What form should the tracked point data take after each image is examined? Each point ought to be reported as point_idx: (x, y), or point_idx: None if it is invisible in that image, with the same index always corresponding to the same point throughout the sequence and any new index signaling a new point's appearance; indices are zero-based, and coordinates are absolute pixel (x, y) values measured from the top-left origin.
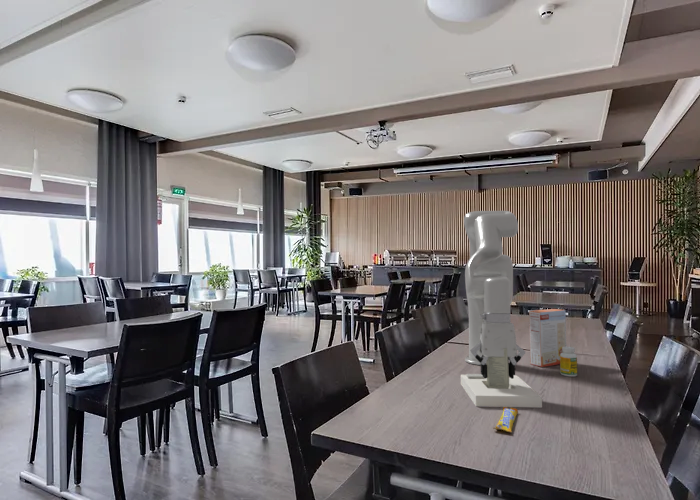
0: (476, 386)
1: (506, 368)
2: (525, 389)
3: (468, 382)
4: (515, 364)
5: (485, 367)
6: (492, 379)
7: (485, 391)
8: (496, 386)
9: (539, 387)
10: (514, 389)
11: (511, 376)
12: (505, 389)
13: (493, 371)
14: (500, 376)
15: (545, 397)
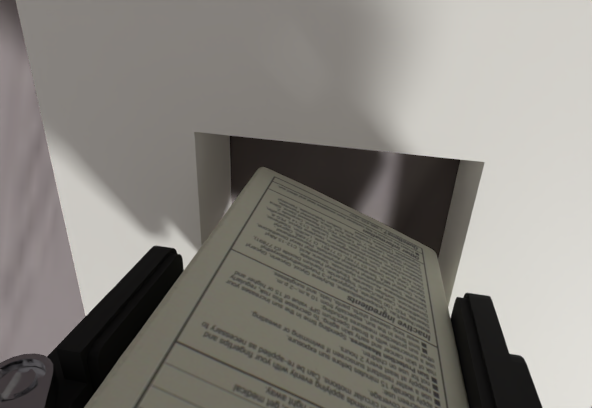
0: (581, 236)
1: (188, 289)
2: (106, 107)
3: (587, 362)
4: (18, 361)
5: (516, 404)
6: (392, 271)
7: (582, 40)
8: (357, 216)
9: (28, 323)
10: (209, 111)
11: (167, 262)
12: (301, 115)
13: (379, 331)
14: (302, 256)
15: (12, 139)
